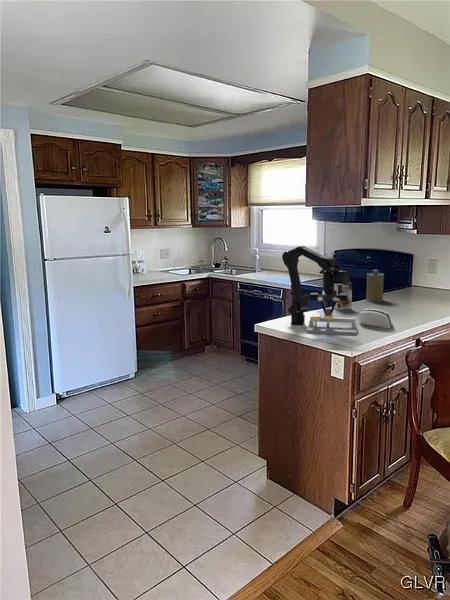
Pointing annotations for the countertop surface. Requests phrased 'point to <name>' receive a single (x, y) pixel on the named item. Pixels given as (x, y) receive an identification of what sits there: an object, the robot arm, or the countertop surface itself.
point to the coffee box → (344, 290)
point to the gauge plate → (331, 326)
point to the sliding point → (328, 315)
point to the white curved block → (375, 318)
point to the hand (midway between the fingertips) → (328, 313)
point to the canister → (375, 286)
